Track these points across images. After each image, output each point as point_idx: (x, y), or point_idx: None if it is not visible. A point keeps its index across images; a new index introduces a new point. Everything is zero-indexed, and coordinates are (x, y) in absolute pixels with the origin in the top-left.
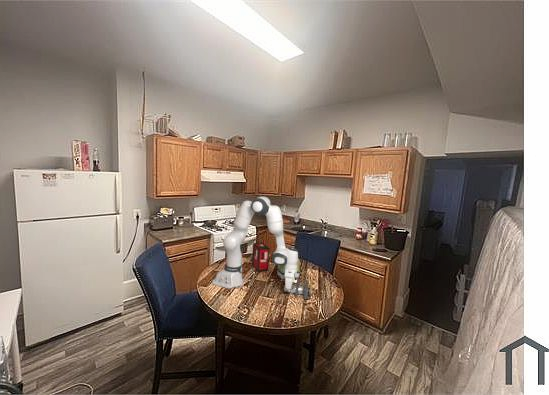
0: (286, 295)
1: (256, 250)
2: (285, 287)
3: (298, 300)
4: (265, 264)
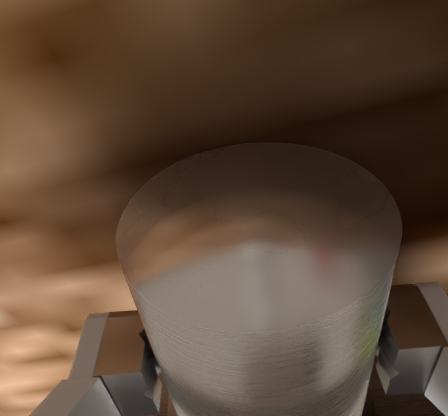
0: (56, 233)
1: None
2: (139, 310)
3: (41, 399)
4: None
